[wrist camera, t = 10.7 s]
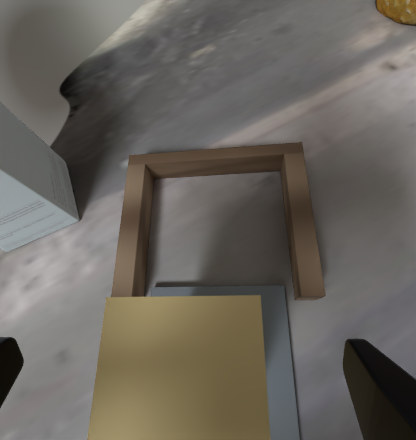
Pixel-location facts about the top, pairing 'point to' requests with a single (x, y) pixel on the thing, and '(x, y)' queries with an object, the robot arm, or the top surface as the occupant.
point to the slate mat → (273, 347)
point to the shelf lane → (218, 165)
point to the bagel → (398, 10)
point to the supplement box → (31, 186)
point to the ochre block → (181, 370)
